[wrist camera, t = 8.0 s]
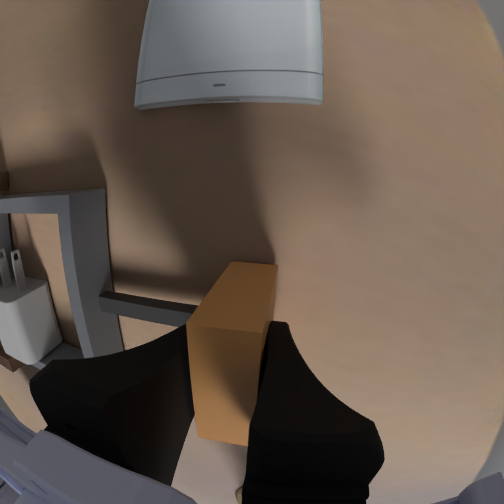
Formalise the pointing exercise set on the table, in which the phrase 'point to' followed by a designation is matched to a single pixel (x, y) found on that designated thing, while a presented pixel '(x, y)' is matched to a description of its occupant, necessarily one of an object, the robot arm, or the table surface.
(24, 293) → the usb wall charger
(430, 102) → the table surface
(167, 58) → the hard drive
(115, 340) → the carrier
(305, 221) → the table surface
